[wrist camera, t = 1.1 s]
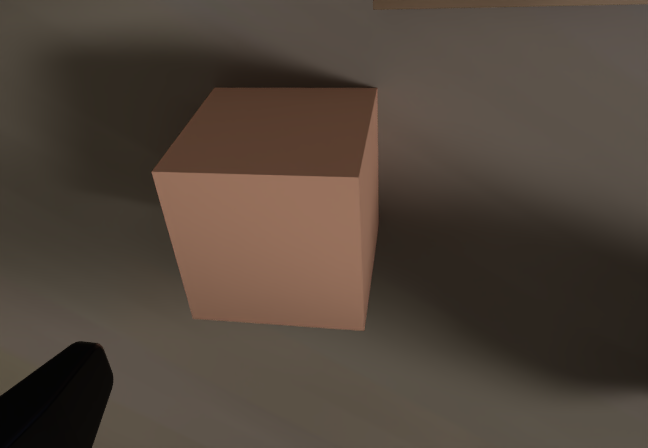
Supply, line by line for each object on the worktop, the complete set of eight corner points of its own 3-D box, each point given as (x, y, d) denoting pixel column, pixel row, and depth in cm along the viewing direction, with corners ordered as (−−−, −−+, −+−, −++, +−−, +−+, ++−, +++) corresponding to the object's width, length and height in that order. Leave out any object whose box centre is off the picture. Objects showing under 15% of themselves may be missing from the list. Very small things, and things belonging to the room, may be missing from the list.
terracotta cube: (379, 223, 24) (364, 331, 19) (239, 217, 25) (193, 318, 20) (377, 87, 20) (358, 177, 16) (214, 86, 21) (151, 171, 17)
